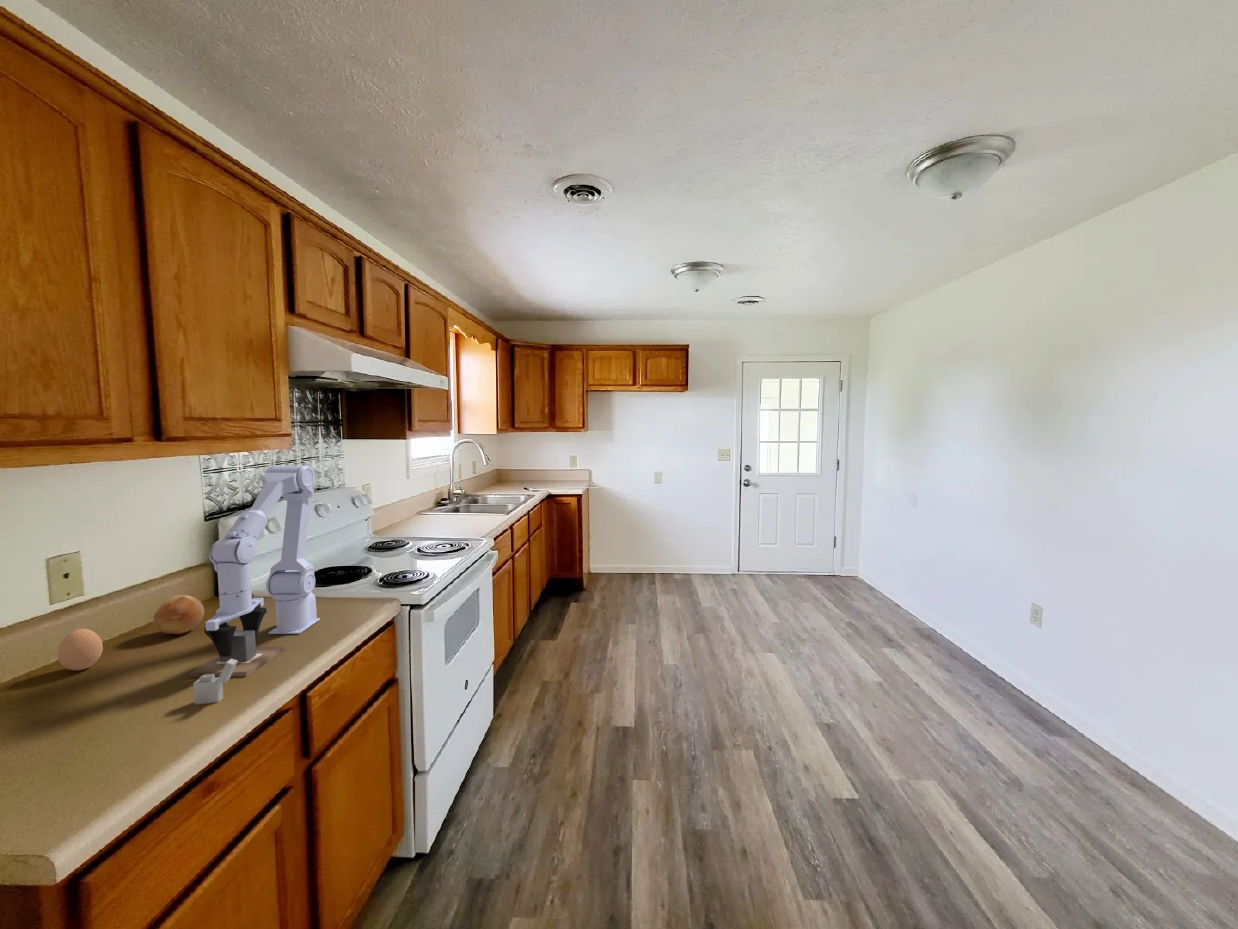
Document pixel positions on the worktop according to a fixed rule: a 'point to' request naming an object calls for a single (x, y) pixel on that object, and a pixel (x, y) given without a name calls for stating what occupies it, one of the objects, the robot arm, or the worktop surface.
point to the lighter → (212, 685)
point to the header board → (239, 663)
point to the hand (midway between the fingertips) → (238, 648)
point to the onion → (179, 614)
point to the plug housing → (242, 646)
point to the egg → (80, 649)
